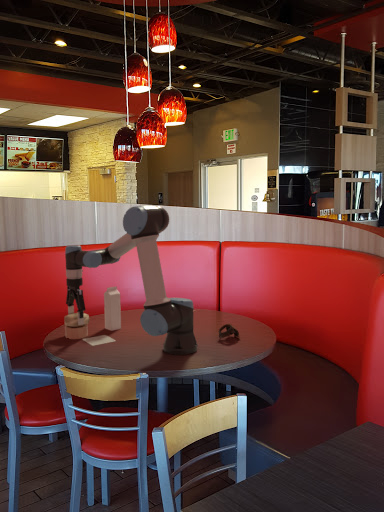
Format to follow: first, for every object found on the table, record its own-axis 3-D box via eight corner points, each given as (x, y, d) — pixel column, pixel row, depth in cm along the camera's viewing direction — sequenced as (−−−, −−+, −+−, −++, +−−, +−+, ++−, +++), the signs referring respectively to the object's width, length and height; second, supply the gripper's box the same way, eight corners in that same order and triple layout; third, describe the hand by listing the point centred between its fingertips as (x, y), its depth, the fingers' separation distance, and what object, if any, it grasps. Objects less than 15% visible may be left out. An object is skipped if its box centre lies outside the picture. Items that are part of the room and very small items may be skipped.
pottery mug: (242, 342, 220) (234, 329, 217) (223, 350, 222) (216, 337, 219) (240, 329, 231) (233, 316, 228) (223, 336, 233) (215, 323, 230)
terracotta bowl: (90, 337, 228) (90, 326, 227) (70, 341, 222) (69, 329, 221) (82, 332, 236) (82, 321, 236) (62, 335, 230) (61, 324, 230)
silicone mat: (116, 341, 221) (116, 340, 221) (92, 346, 214) (92, 345, 214) (105, 335, 230) (105, 334, 230) (82, 340, 223) (82, 339, 223)
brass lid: (70, 327, 220) (69, 320, 220) (61, 322, 230) (60, 315, 229) (93, 323, 227) (92, 316, 227) (83, 318, 236) (83, 311, 236)
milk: (121, 329, 241) (120, 287, 238) (111, 331, 237) (110, 288, 234) (114, 326, 246) (113, 285, 243) (104, 329, 242) (103, 286, 239)
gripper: (91, 280, 218) (93, 325, 221) (72, 273, 237) (74, 315, 240) (76, 282, 213) (78, 328, 216) (58, 275, 233) (59, 317, 236)
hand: (76, 321), depth 228 cm, fingers closed on brass lid, 11 cm apart
